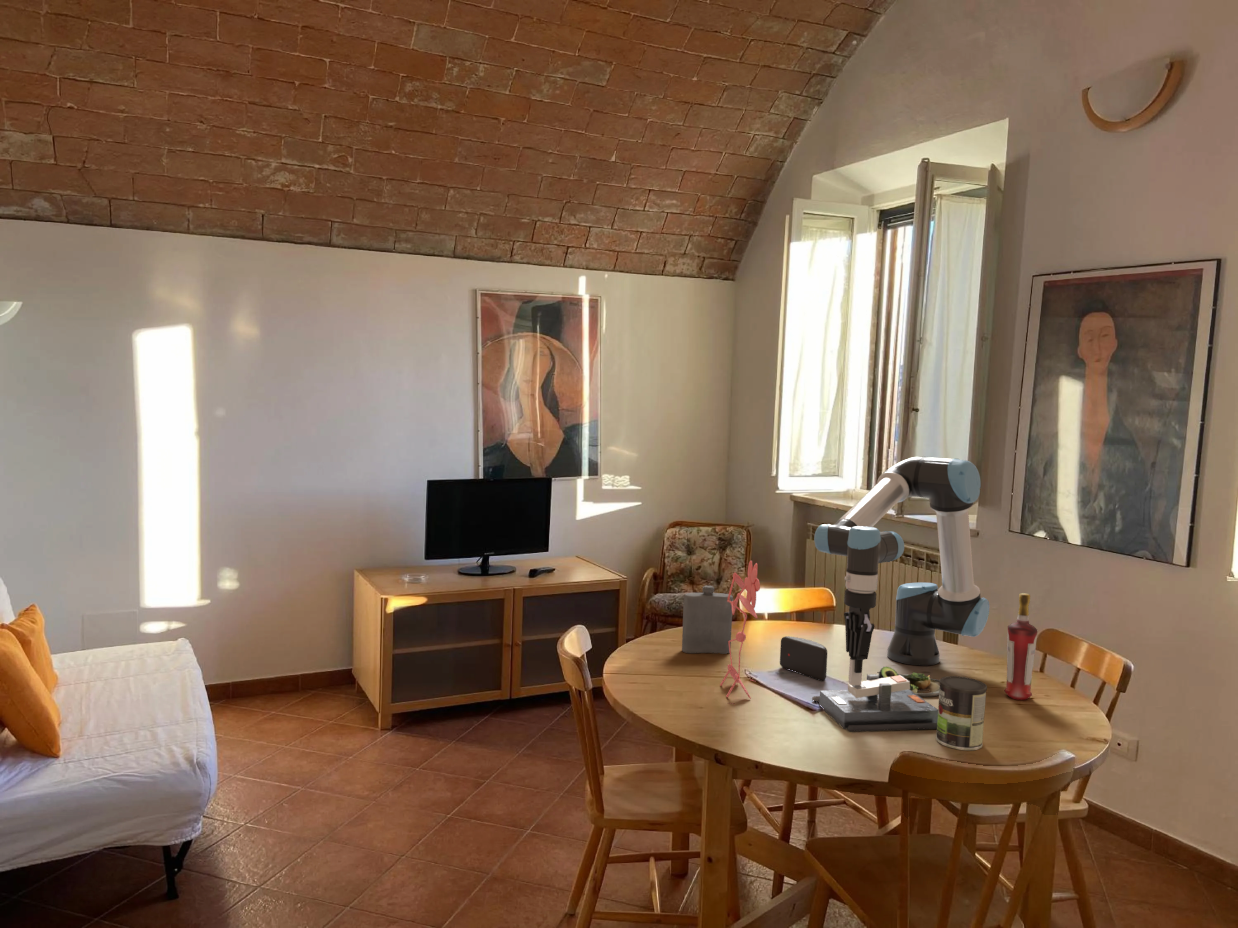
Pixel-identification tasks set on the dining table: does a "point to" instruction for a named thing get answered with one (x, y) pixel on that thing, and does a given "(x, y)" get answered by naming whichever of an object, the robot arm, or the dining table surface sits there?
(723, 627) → the flask
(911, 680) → the salad plate
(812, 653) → the black rounded flat block
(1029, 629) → the liquor
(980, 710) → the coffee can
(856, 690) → the rocker
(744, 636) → the figurine
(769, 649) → the dining table surface
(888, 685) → the lever switch plate
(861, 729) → the rods
